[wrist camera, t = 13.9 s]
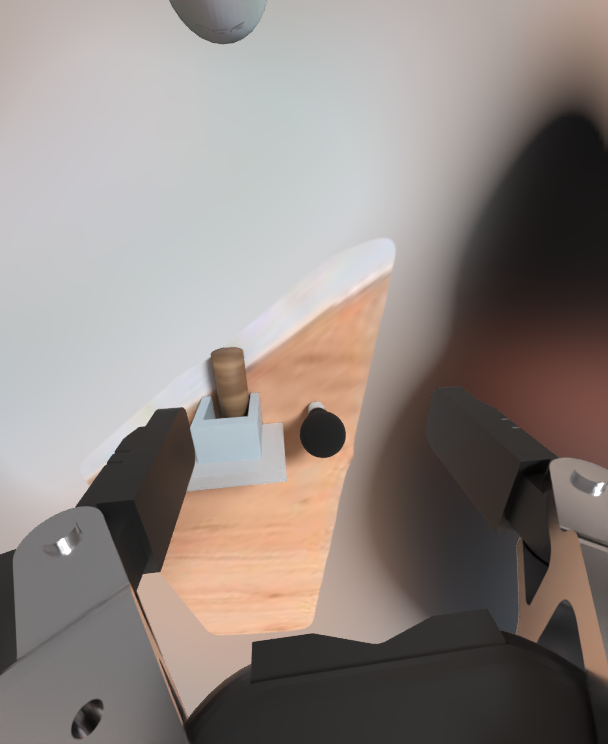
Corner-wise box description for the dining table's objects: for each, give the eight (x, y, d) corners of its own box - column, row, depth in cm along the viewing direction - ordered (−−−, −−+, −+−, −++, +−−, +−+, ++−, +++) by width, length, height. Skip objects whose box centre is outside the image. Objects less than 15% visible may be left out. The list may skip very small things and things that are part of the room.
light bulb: (301, 426, 46) (309, 473, 37) (290, 394, 44) (296, 436, 35) (337, 415, 46) (354, 460, 37) (329, 383, 44) (345, 422, 35)
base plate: (188, 430, 44) (167, 480, 35) (282, 422, 46) (285, 469, 37) (190, 441, 45) (171, 492, 36) (283, 433, 46) (286, 481, 37)
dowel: (209, 349, 39) (212, 360, 36) (239, 345, 40) (245, 355, 37) (221, 420, 44) (225, 435, 40) (248, 414, 45) (254, 428, 42)
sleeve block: (202, 396, 42) (190, 427, 35) (259, 392, 43) (257, 422, 36) (209, 428, 45) (198, 463, 38) (262, 424, 45) (261, 458, 38)
